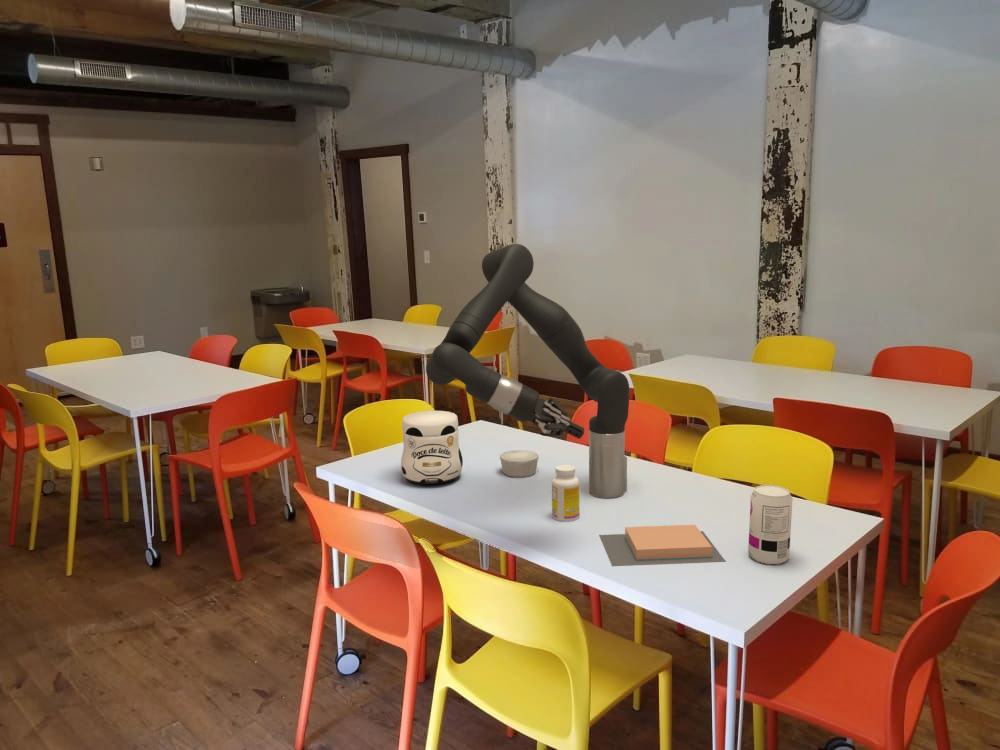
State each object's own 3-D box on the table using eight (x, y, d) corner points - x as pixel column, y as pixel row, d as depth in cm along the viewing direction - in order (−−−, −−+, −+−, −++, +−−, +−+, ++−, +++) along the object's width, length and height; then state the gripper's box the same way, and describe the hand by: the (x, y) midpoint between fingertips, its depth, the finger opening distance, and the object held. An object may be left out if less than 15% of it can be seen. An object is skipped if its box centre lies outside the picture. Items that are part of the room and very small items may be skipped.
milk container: (425, 493, 205) (423, 428, 201) (389, 478, 218) (386, 417, 214) (475, 478, 216) (473, 416, 212) (438, 464, 229) (436, 406, 225)
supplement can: (741, 558, 163) (744, 491, 160) (759, 546, 168) (762, 481, 165) (777, 569, 157) (781, 500, 154) (795, 556, 163) (799, 489, 160)
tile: (636, 549, 161) (711, 546, 161) (625, 527, 173) (695, 524, 173) (636, 560, 161) (711, 557, 162) (625, 537, 173) (694, 534, 174)
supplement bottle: (583, 515, 187) (584, 465, 185) (572, 525, 182) (572, 473, 179) (559, 511, 191) (559, 461, 188) (547, 520, 185) (546, 469, 183)
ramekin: (522, 464, 228) (522, 447, 227) (547, 473, 219) (546, 455, 218) (492, 472, 221) (491, 454, 220) (516, 481, 213) (516, 463, 212)
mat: (612, 567, 159) (612, 566, 159) (599, 536, 175) (599, 534, 175) (725, 563, 160) (726, 561, 160) (702, 532, 176) (702, 531, 176)
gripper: (517, 401, 158) (590, 438, 160) (523, 370, 170) (591, 406, 172) (500, 427, 162) (572, 463, 164) (508, 396, 173) (575, 430, 175)
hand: (582, 433), depth 168 cm, fingers closed
